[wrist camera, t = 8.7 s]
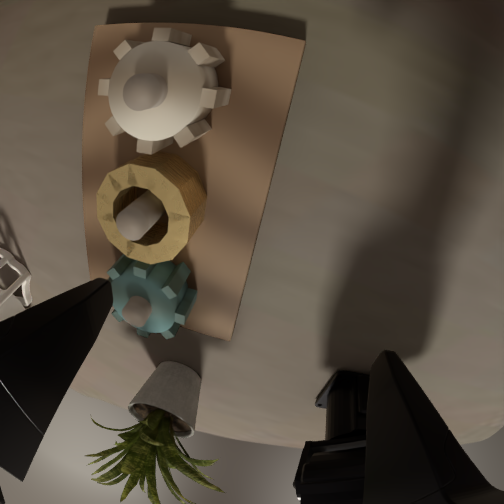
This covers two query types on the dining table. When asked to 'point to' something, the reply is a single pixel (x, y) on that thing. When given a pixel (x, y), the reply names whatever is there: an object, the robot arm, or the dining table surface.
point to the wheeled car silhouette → (14, 288)
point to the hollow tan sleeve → (167, 190)
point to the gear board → (185, 159)
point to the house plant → (158, 433)
